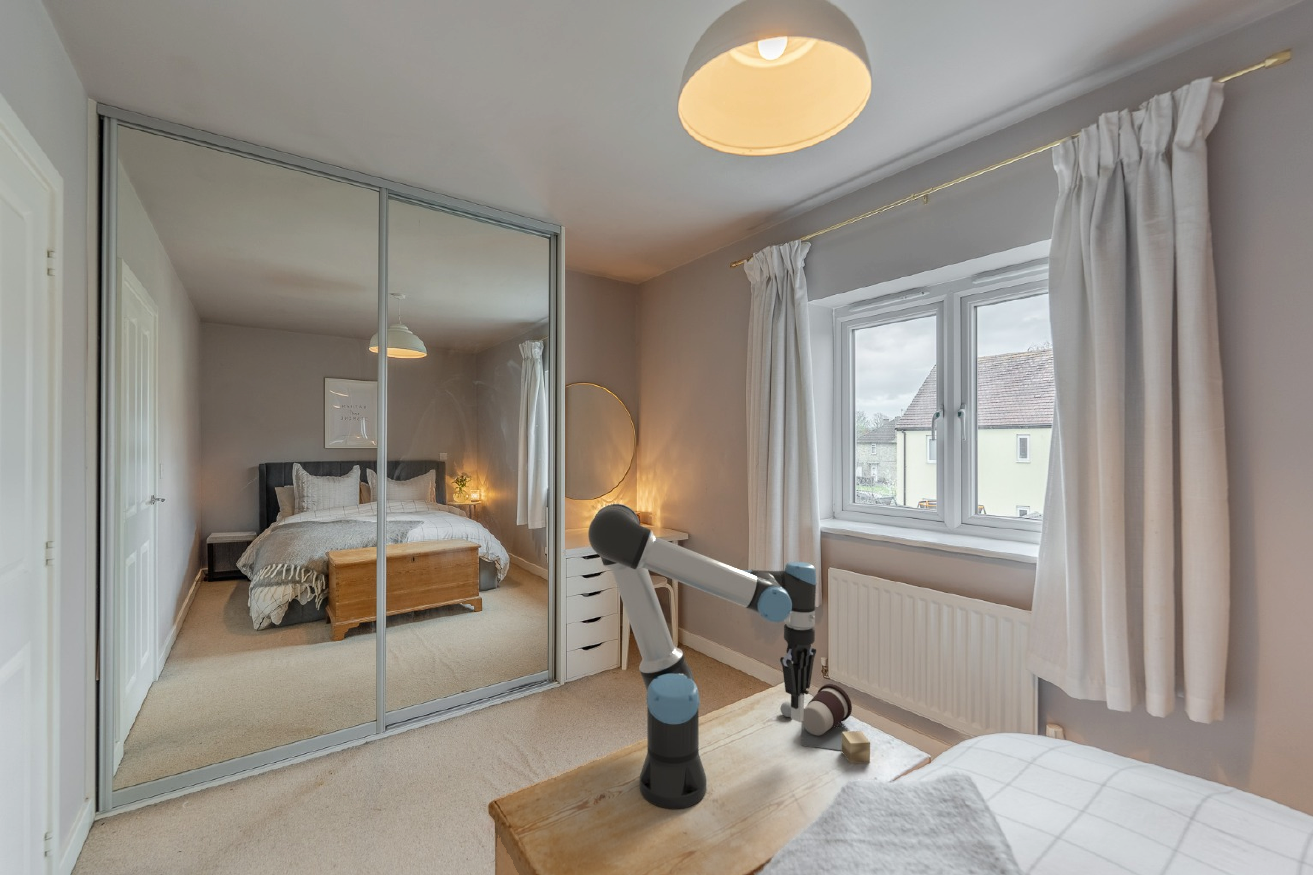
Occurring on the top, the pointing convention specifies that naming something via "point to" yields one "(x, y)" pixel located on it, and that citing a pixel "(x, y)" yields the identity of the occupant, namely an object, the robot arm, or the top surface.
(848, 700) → the coffee cup
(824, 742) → the display mat
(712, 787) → the top surface
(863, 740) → the oak block
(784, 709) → the grey ball
